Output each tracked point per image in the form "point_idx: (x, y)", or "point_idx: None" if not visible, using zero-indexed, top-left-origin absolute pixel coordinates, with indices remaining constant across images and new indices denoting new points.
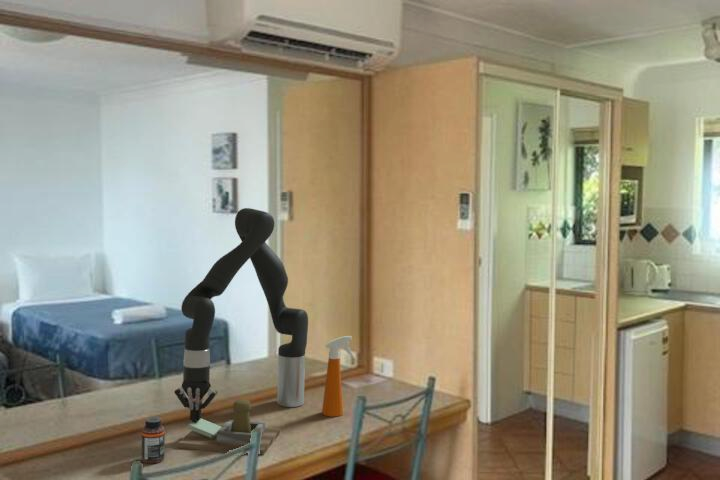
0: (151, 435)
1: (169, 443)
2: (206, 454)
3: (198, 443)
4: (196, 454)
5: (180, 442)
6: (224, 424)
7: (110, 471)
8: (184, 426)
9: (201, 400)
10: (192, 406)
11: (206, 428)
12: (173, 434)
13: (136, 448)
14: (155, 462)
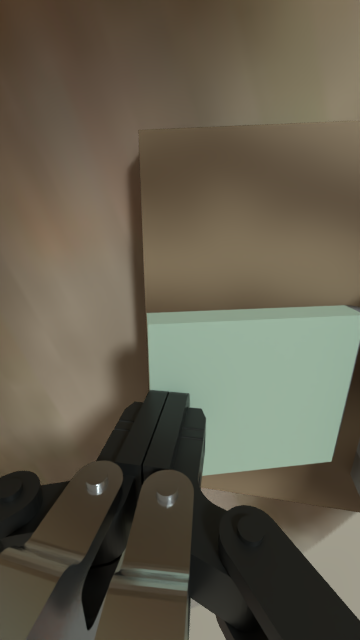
0: None
1: (99, 417)
2: (306, 517)
3: (252, 488)
4: None
5: None
6: (347, 130)
7: None
8: (42, 156)
9: (187, 638)
10: (110, 574)
11: (270, 431)
12: (56, 306)
13: (13, 469)
14: None
